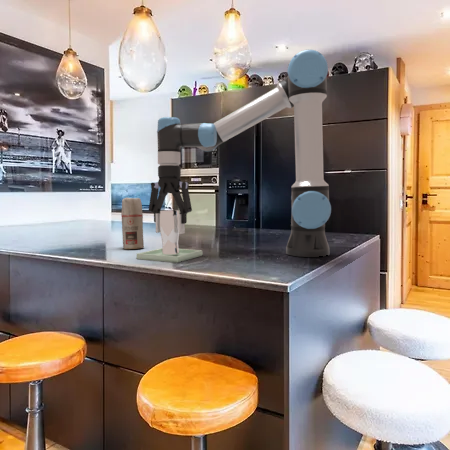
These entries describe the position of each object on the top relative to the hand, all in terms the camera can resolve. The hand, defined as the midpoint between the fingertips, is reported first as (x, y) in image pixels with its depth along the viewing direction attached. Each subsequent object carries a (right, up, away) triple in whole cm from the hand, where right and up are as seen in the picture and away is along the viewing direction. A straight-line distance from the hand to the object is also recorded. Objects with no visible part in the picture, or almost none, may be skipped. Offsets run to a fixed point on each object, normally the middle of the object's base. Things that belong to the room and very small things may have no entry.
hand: (170, 232), depth 138 cm
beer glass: (0, -8, +1) cm, 8 cm away
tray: (0, -8, +1) cm, 8 cm away
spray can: (-17, -7, +22) cm, 29 cm away
